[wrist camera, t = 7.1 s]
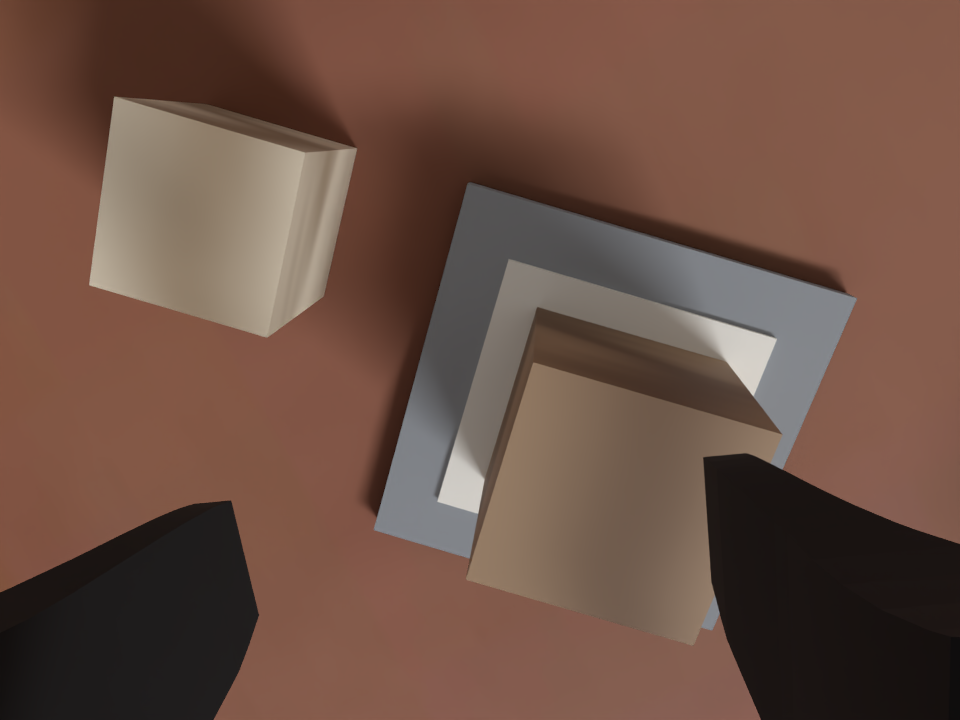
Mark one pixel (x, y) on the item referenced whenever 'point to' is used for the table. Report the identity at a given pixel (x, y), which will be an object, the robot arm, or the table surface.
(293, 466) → the table surface
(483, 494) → the walnut cube
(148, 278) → the maple block
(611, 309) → the mat
